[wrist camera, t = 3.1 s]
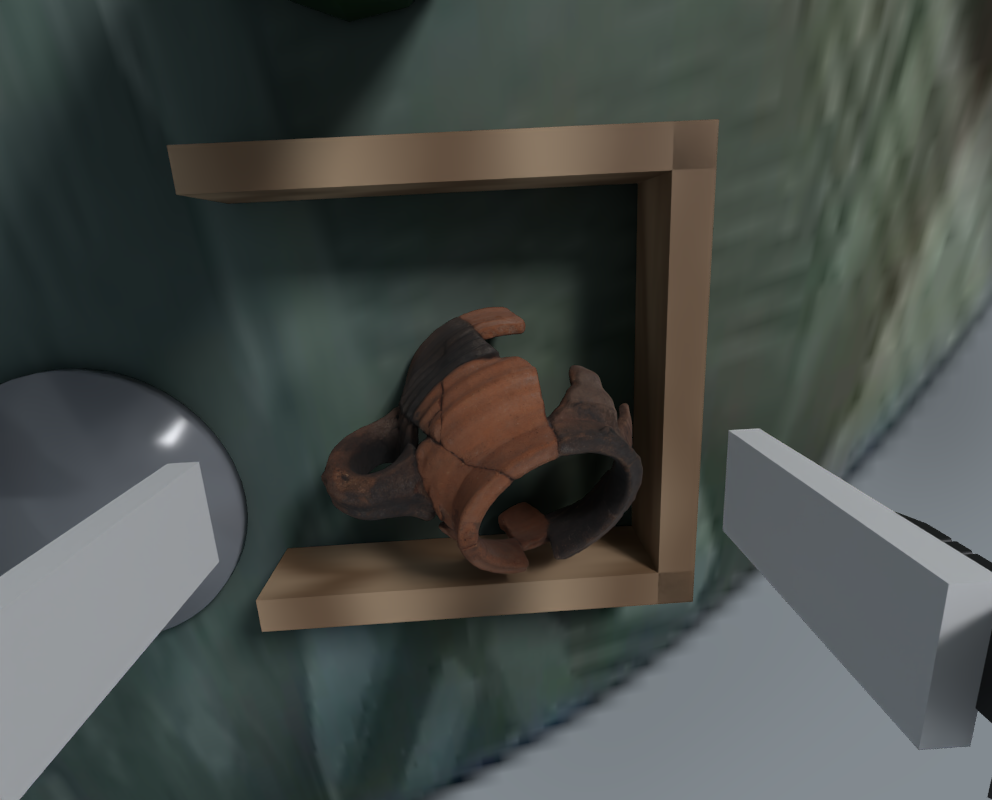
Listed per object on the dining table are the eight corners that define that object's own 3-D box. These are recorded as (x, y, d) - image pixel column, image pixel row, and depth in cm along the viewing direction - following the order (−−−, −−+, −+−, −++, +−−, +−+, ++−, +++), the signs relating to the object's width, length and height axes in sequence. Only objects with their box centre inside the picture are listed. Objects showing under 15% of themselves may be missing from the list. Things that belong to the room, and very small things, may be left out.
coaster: (-1, 636, 27) (-15, 648, 26) (-92, 377, 23) (-111, 381, 22) (268, 617, 27) (262, 628, 26) (219, 359, 24) (210, 363, 23)
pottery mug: (566, 265, 23) (678, 379, 17) (570, 422, 30) (653, 544, 24) (280, 346, 21) (298, 509, 15) (350, 497, 27) (382, 652, 22)
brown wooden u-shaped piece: (292, 575, 27) (262, 631, 23) (221, 163, 22) (166, 145, 18) (661, 551, 27) (692, 601, 23) (675, 141, 22) (719, 119, 18)
